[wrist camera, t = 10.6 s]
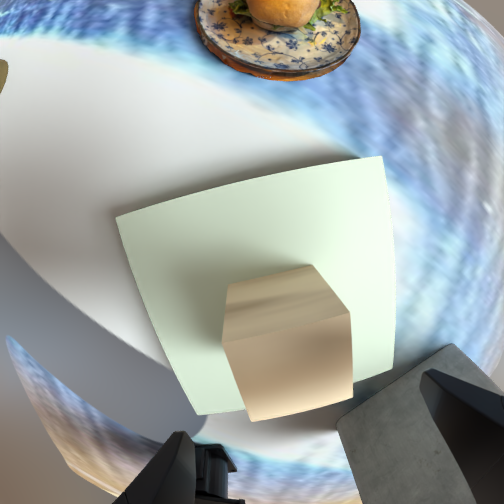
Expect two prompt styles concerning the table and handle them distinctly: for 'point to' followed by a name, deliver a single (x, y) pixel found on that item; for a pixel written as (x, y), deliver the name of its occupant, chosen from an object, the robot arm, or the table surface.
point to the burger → (279, 35)
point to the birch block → (288, 343)
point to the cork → (3, 73)
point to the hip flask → (408, 439)
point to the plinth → (264, 263)
